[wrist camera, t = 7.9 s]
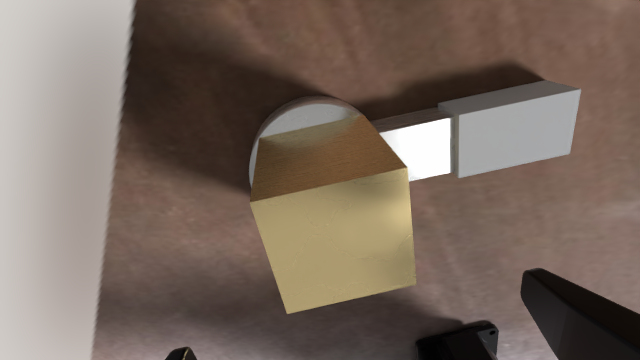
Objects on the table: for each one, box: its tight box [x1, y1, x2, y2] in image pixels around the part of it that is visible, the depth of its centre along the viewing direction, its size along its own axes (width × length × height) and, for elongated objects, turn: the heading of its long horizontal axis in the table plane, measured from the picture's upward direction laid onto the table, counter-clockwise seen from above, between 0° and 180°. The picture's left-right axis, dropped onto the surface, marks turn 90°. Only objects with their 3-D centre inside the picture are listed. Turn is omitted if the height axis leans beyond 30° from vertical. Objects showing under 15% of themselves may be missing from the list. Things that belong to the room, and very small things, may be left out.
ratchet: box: [249, 80, 581, 189], centre depth 16 cm, size 16×7×6 cm, turn 100°
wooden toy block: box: [250, 115, 416, 314], centre depth 14 cm, size 5×5×6 cm
